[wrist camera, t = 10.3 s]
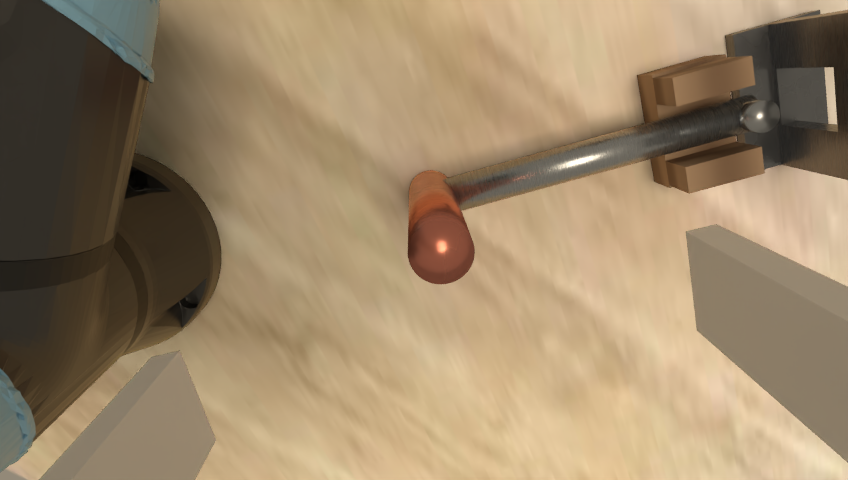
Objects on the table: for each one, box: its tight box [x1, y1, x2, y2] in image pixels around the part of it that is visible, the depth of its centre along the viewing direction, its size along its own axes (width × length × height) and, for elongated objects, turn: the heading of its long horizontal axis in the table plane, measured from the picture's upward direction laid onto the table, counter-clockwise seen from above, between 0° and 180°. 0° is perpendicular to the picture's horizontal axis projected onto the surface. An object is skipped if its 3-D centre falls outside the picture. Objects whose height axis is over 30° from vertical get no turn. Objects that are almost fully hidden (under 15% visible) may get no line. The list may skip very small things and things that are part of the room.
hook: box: [408, 95, 780, 284], centre depth 34 cm, size 24×3×15 cm, turn 105°
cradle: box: [637, 54, 765, 193], centre depth 39 cm, size 5×8×6 cm, turn 15°
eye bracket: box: [725, 10, 848, 180], centre depth 34 cm, size 6×10×14 cm, turn 15°
